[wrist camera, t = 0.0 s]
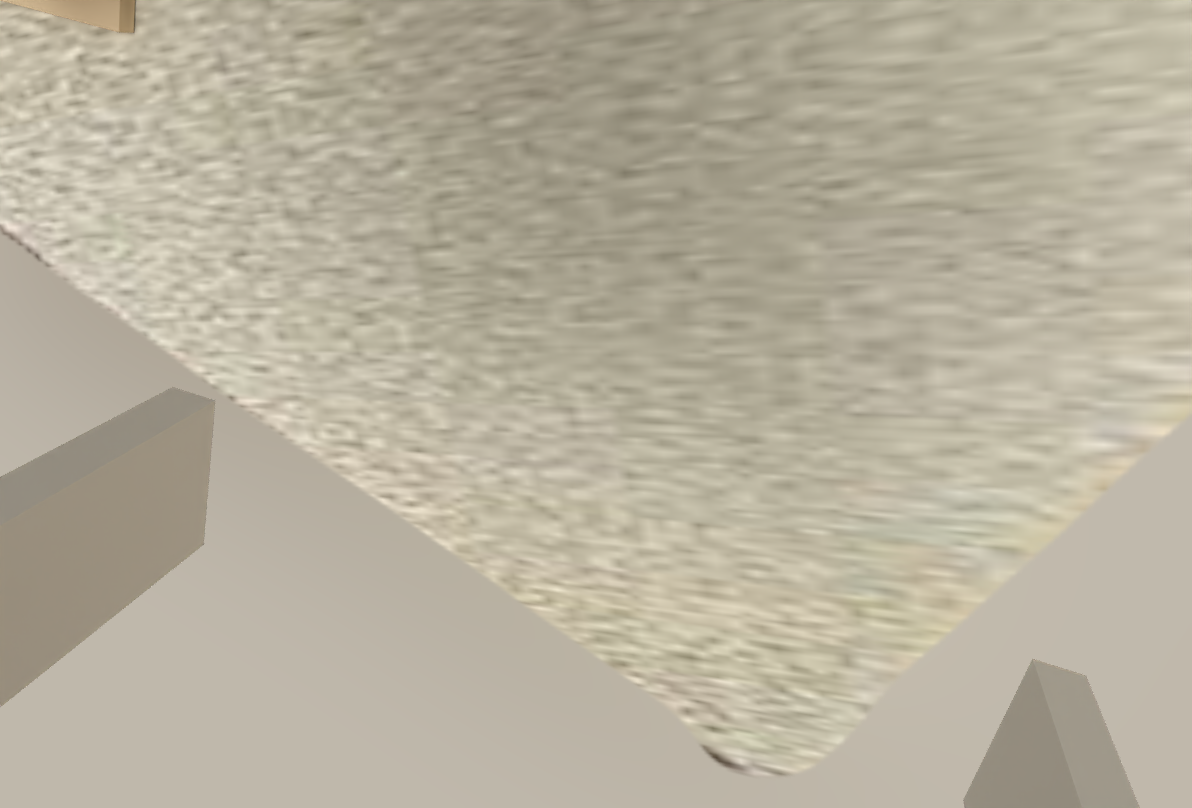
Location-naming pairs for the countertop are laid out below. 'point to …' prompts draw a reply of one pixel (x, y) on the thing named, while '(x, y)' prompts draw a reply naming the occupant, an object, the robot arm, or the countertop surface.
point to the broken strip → (88, 11)
